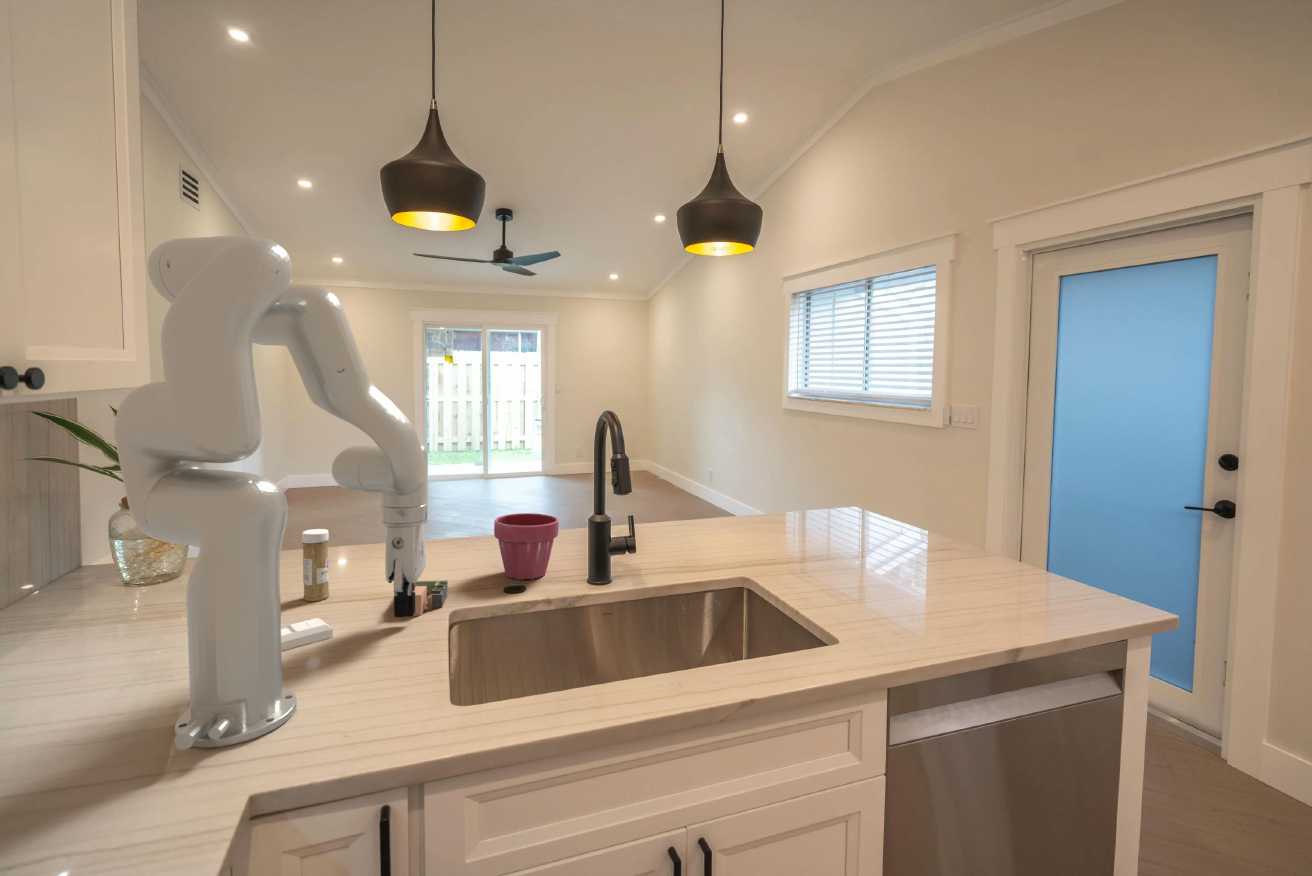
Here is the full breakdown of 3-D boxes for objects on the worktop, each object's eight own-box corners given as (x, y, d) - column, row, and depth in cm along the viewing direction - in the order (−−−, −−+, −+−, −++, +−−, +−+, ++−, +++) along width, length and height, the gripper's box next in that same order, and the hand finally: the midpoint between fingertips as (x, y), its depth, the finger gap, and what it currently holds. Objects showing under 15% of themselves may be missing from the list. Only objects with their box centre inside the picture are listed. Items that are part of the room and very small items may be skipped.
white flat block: (332, 639, 101) (332, 624, 101) (271, 655, 94) (270, 639, 94) (322, 630, 104) (321, 615, 104) (262, 645, 97) (261, 630, 97)
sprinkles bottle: (330, 599, 117) (329, 532, 116) (303, 603, 115) (302, 534, 114) (328, 592, 121) (327, 527, 120) (302, 596, 119) (300, 529, 117)
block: (421, 616, 111) (421, 595, 111) (398, 616, 110) (398, 595, 110) (426, 606, 116) (426, 585, 116) (404, 606, 115) (404, 586, 115)
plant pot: (543, 561, 147) (544, 510, 146) (567, 578, 135) (568, 522, 134) (485, 569, 139) (486, 515, 138) (505, 587, 127) (506, 528, 126)
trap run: (440, 610, 114) (440, 597, 113) (393, 612, 112) (393, 599, 112) (449, 591, 124) (449, 580, 124) (406, 593, 122) (406, 581, 122)
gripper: (418, 523, 98) (418, 632, 100) (434, 505, 113) (434, 599, 114) (369, 524, 97) (370, 634, 98) (392, 505, 111) (392, 601, 113)
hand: (404, 615), depth 106 cm, fingers closed
